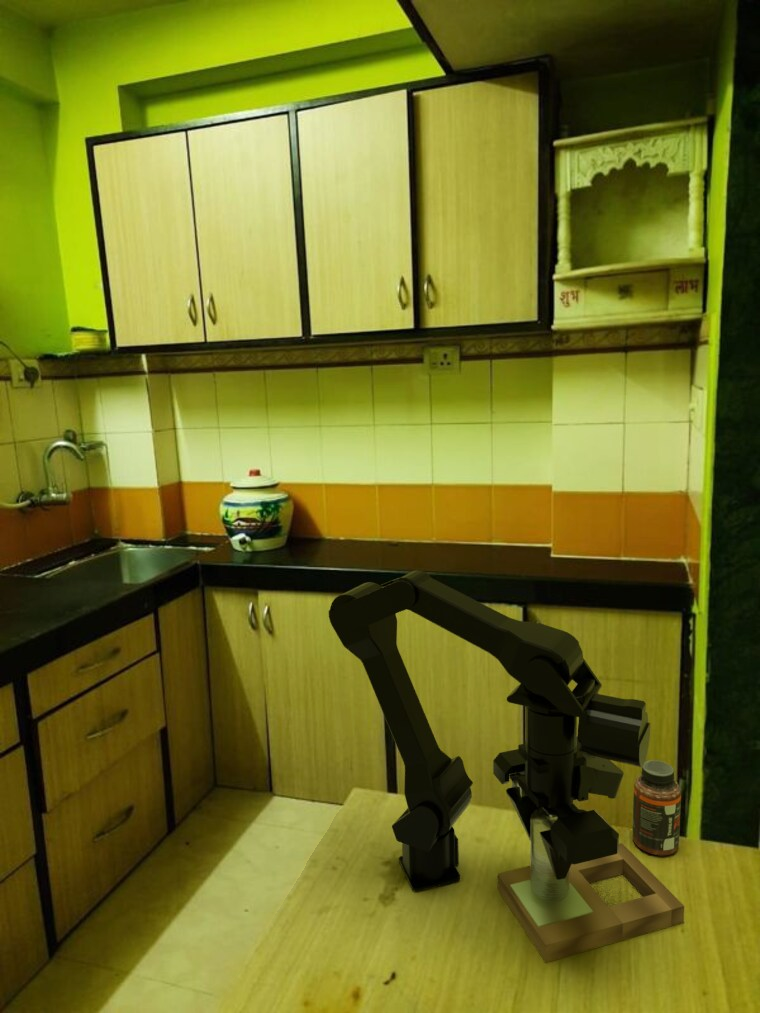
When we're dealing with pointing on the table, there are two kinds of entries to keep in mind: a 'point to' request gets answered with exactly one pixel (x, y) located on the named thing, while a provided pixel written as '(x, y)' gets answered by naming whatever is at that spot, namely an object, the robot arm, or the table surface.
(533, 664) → the robot arm
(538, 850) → the clear glass jar
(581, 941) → the pocket block
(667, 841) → the supplement bottle
